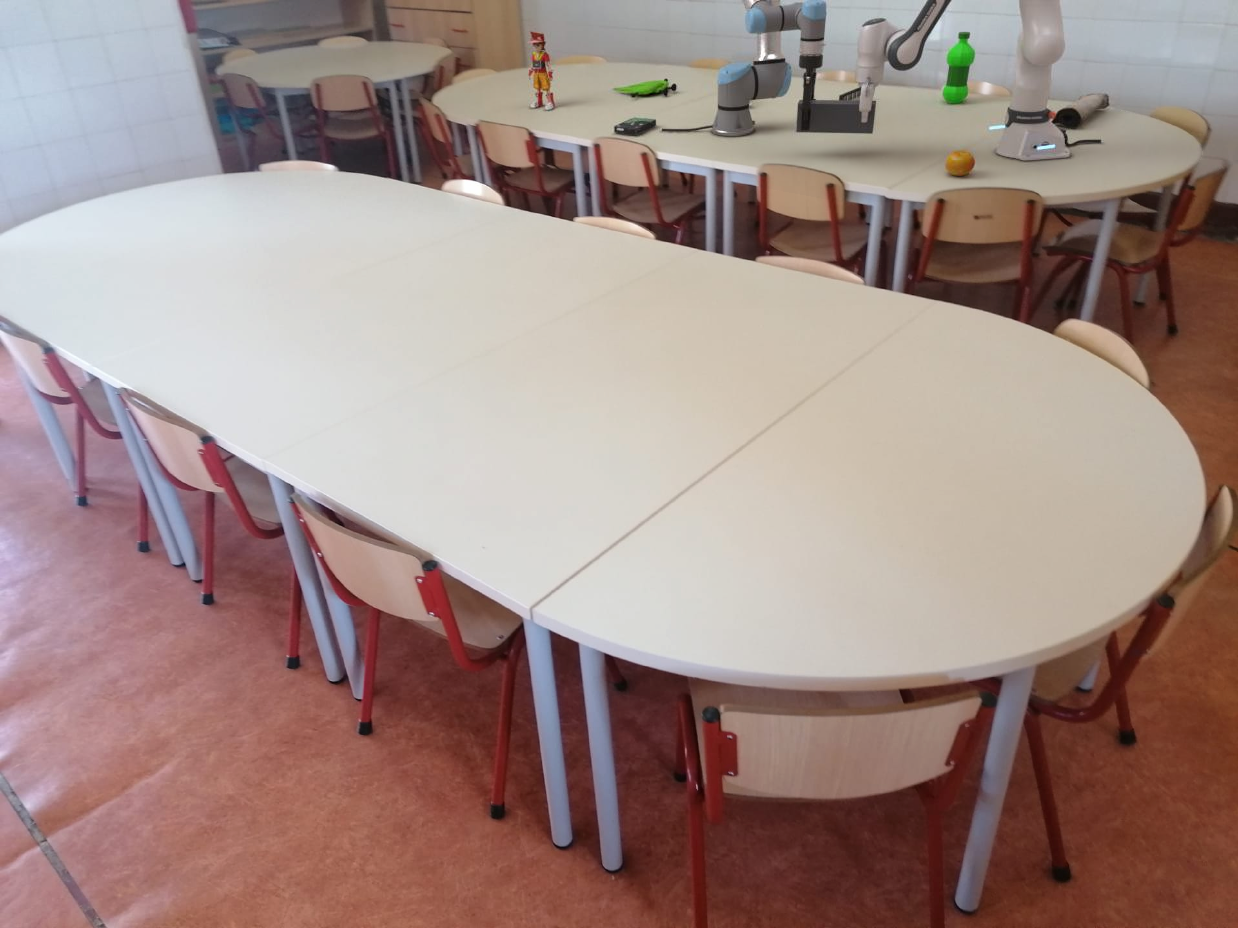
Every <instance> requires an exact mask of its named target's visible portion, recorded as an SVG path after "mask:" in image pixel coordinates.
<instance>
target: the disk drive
mask: <svg viewBox="0 0 1238 928" xmlns="http://www.w3.org/2000/svg"><path fill="white" fill-rule="evenodd" d="M656 126H657V119H655V118H647V117H646V118H645V117H635V116H634V117H631V118H629V119H627V120H625V121H622V122H620V123H618V124H616V125H614V126H613V131H614V133H615V134H620V135H629V136H638V135H641V134H642V133H644V132H646V131H649V130H651V129H653V128H655V127H656Z"/></svg>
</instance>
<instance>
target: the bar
mask: <svg viewBox="0 0 1238 928" xmlns="http://www.w3.org/2000/svg"><path fill="white" fill-rule="evenodd" d="M802 102H803V99H799V100H798V102H797V110H796V111H797V112H796V129H795V132H796V133H816V134H817V133H819V134H862V135H863V134H864V135H865V134H868V135H873V133H874V129H875V128H874V127H875V126H874V125H875V119H876V118H875V116H876V109H877V108H876V107H877V100H872V106H871V110H870V111H869V112H868V117H867V122H862V121H861V120H862V112H861V111H859V105H860V100H839V99H816V100H811V105H810V107H811V113H810V128H809V130H801V122H802V110H800V108H802ZM805 106H808V105H805Z"/></svg>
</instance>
